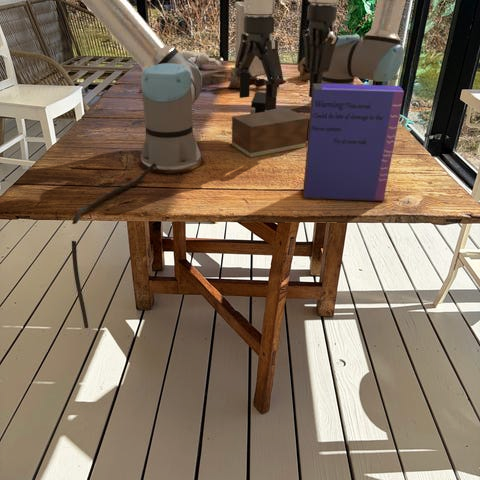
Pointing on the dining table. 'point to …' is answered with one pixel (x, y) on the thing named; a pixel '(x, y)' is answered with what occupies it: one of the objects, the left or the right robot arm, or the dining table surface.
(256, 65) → the paper bag
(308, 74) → the anatomical model
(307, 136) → the drawer
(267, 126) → the wooden chest box
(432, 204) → the dining table surface
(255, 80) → the figurine
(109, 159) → the dining table surface
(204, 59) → the toy
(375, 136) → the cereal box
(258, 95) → the figurine character
